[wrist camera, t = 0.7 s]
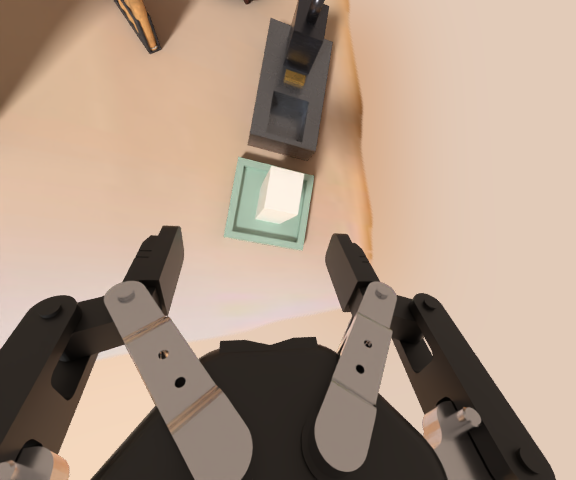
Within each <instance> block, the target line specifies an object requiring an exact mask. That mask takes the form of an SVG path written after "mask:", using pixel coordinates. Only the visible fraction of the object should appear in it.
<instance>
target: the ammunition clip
mask: <svg viewBox="0 0 576 480" xmlns="http://www.w3.org/2000/svg"><path fill="white" fill-rule="evenodd" d="M114 1H115V3H116V4H117V6H118V7H119V9H120V10H121V12H122V13H123V15H124V16H125V18H126V19H127V21H128V22H129V24H130V25H131V27H132V28H133V30H134V31H135V33H136V34H137V36H138V37H139V39H140V40H141V42H142V43H143V45H144V46H145V48H146V49H147V51H148V52H149V53H150V54H151V53H154V52H156V51H158V50H161V47H160V44H159V41H158V38H157V35H156V32H155V29H154V26H153V24H152V21H151V18H150V16H149V14H148V12H147V11H146V9H145V6H144V3H143V0H114Z"/></svg>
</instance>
